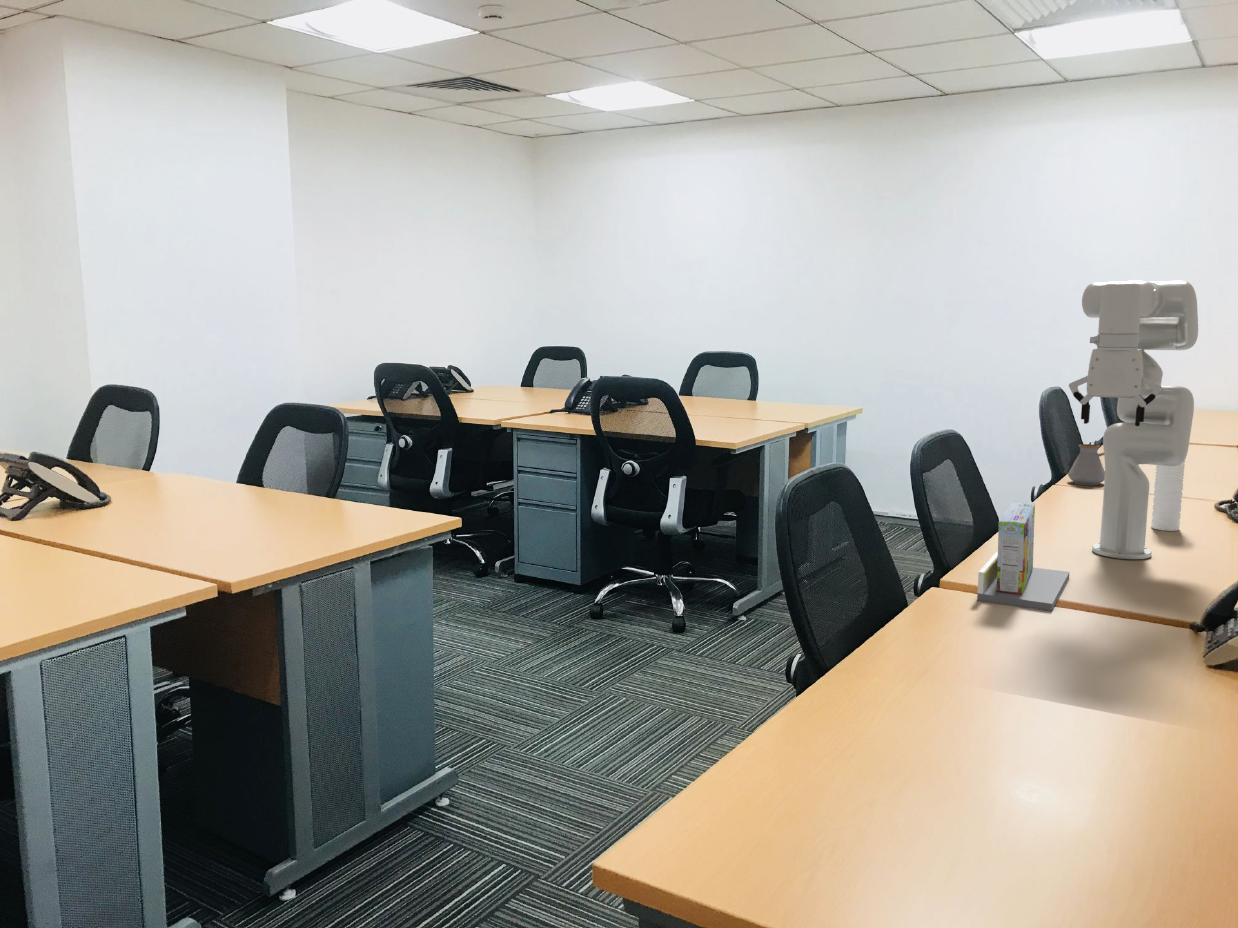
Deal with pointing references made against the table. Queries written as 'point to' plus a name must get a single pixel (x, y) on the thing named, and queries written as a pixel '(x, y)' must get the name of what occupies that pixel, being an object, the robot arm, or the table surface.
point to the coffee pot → (1087, 466)
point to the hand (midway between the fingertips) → (1111, 424)
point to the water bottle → (1167, 497)
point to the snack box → (1015, 547)
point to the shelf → (1037, 591)
